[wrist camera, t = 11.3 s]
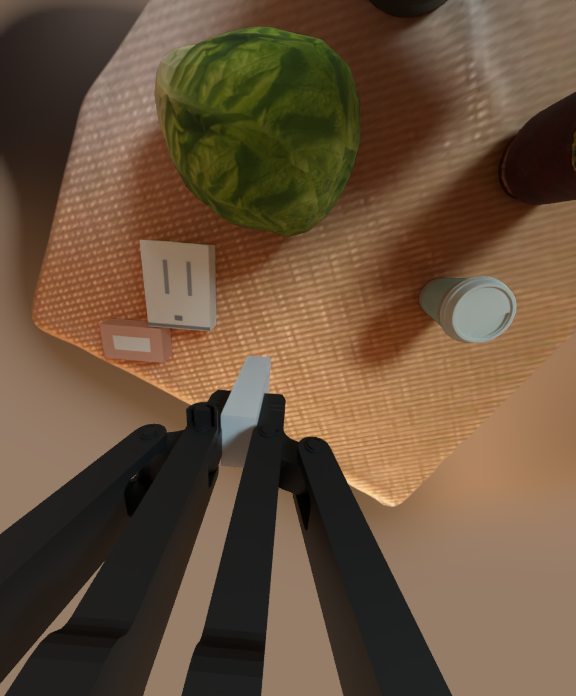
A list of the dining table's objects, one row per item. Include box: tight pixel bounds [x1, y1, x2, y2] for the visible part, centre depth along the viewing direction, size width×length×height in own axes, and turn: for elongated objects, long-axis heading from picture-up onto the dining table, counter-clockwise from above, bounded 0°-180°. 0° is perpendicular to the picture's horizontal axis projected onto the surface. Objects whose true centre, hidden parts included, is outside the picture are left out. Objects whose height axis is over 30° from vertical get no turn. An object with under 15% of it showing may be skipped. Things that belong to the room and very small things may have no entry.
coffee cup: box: [419, 276, 516, 343], centre depth 39 cm, size 8×9×12 cm
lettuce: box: [155, 27, 360, 237], centre depth 31 cm, size 19×23×18 cm
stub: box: [99, 318, 172, 363], centre depth 47 cm, size 6×10×4 cm, turn 86°
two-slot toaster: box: [139, 240, 216, 331], centre depth 44 cm, size 13×10×4 cm
